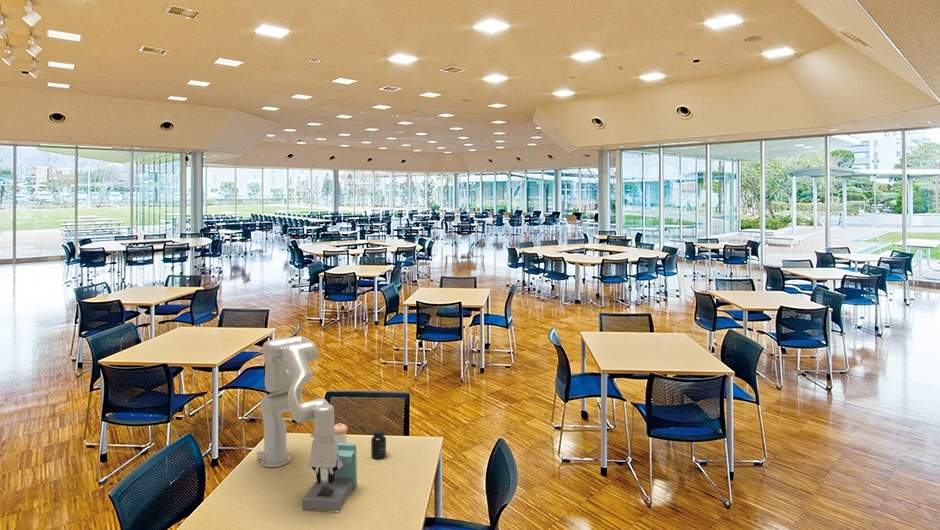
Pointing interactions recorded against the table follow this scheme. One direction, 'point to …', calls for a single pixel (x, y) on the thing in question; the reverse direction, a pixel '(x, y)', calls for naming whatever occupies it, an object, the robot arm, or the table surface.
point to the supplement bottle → (378, 445)
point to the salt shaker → (340, 433)
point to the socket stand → (335, 483)
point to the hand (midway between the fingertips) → (325, 481)
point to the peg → (324, 480)
